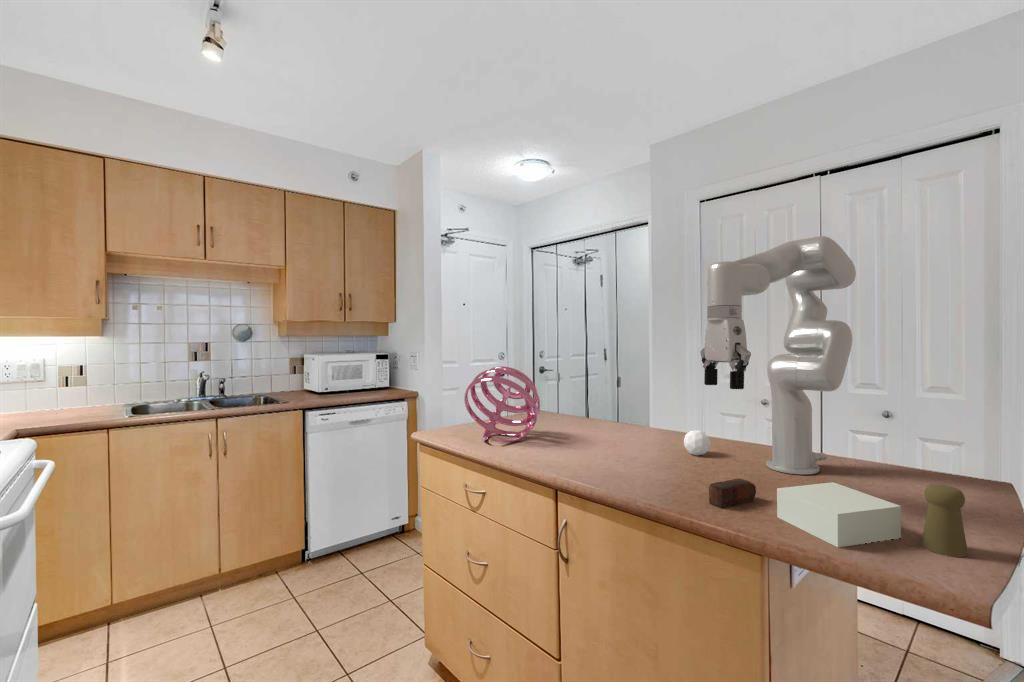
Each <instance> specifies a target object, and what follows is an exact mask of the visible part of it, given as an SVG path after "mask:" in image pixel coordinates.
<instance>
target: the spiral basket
mask: <svg viewBox="0 0 1024 682" xmlns="http://www.w3.org/2000/svg"><path fill="white" fill-rule="evenodd" d="M493 373H494V375H493V376H492V375H490V374H493ZM503 374H505V375H508V376H511V377H513V378H516V379H518V380H519V381H520V382H522V383H523V384H525V385H524V386H525V387H523V386H521V385H519V384H518V383H517V382H515V381H512V380H510V379H508V378H505V377H502V375H503ZM489 382H490V383H493V385H494V387H495V389H496V391H498V392H499V393H500V395H502V398H501V400H498V399H497V398H496V397H495V396H494V395H493V394H492V392H491V391H490V390H489V387H488V383H489ZM477 384H480V389H481V392H482V393H483V396H484V397H485V398H486V400H488V402H490V403H491V404H492V405H493V406H494V407H495V410H494V411H493V412H492V411H491V410H489V409H488V408H487V407H486V406H485V405H484V404H483V403H482V401H481V400H480V399H479V397H478V395H477V391H476V385H477ZM503 385H505V386H507V387H508V388H507V389H506V387H504V386H503ZM511 389H513V390H514V391H516V392H513V391H511ZM469 391H470V397H471V399H472V401H473V403H474V404H475V406H476V408H477V409H478V410H479V411H480V412H481V413H482V414H483V415H485V416H486V417H487V418H488V419H489V421H488V422H486V421H484V420H483V419H481V418H480V417H479V416H478V415H477V413H475V411H474V410H473V409H472V407H471V404H470V402H469V398H468V397H469V395H468V394H469ZM464 392H465V393H464V405H465V408H466V411H467V413H468V414H469V416H470V417H471V418H472V419H473V421H474V422H475V423H477V424H478V425H479V426H481V427H482V428H483V429H484V432H483V435H482V440H483V441H484V442H487V441H488V440H487V437H489V436H491V434H496V435H498V434H505V435H513V436H512V437H517V438H514V439H506V438H501V437H498V436H494V439H495V440H497V441H498V442H499V441H500V442H502V443H506V444H507V443H508V442H512V443H515V442H514V441H516V442H518V441H520V440H522V439H523V438H525V436H526V435H528V433H529V432H531V431H532V429H534V427H535V426H536V423H537V421H538V418H539V413H540V409H541V400H540V395H539V393H538V389H537V388H536V385H535V384H534V381H533V380H532V379H531V378H530V377H529V376H528V375H527V374H525V373H524V372H522V371H520V370H519V369H516V368H513V367H510V366H495V367H491V368H489V369H486V370H483V371H482V372H480V373H478V374H477V375H476V376H475V377H474V378H473V380H472V381H471V383H469V384H468V386H467V388H466V390H465V391H464ZM531 392H532V393H533V397H532V395H531V394H530V393H531ZM508 399H510V400H511V399H512V400H522V399H523V400H524V403H525V404H524V405H520V406H517V405H516V406H515V405H509V404H508V403H507V400H508ZM502 412H508V413H511V414H524V413H526V414H527V416H526V418H523V419H509V418H505V417H502V416H501V415H502V414H501V413H502ZM497 424H501V425H505V426H510V427H521V426H525V428H524V429H522V430H517V431H512V430H510V431H509V430H503V429H500V428H497V427H496V425H497ZM489 438H490V437H489ZM486 440H487V441H486Z"/></svg>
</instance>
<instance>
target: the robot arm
mask: <svg viewBox="0 0 1024 682" xmlns="http://www.w3.org/2000/svg"><path fill="white" fill-rule="evenodd" d="M856 275H857V271H856V266H855V264H854V262H853V261H852V259H851V258H850V257H849V255H848V254H847V253H846V252H845V250H844V249H843V248H842V247H841V246H840V245H839V244H838V243H837V242H836V241H835V240H834V239H832V238H830V237H828V236H825V235H822V236H819V235H818V236H814V237H808V238H802V239H795V240H791V241H787V242H786V241H785V242H784V243H782V244H780V245H777V246H774V247H773V248H770V249H768V250H765V251H763V252H760V253H757V254H752V255H749V256H747V257H743V258H740V259H737V260H734V261H733V260H731V261H730V260H729V261H727V260H726V261H725V260H724V261H717V262H714V263H711V264H710V265H709V266H708V268H707V280H706V287H707V299H706V301H707V302H706V303H707V305H706V306H707V307H706V309H707V310H706V321H707V323H706V328H705V334H704V335H705V336H704V347H703V348H702V349H701V350H700V352H699V353H700V356H701V362H702V364H703V365H702V367H703V369H704V376H703V377H704V379H703V381H704V385H705V386H717V385H718V368H717V366H718V364H719V363H728V364H729V365H728V366H729V367H730V368H731V370H732V371H731V370H730V372H729V388H730V389H731V390H744V389H745V372H747V368H748V366H749V363H750V358H751V356H752V352H750V350H749V349H748V346H747V344H748V343H747V332H746V326H745V322H744V319H743V297H744V296H755V295H759V294H762V293H763V292H765V291H766V290H767V289H769V286H770V284H773V283H776V282H779V281H783V280H784V281H785V285H786V288H787V291H788V295H789V297H790V300H791V303H792V310H791V315H790V318H789V321H788V324H787V327H786V329H785V333H784V336H783V347H784V349H785V350H786V351H787V352H789V353H781V354H778V355H775V356H773V357H772V358H770V360H769V361H768V364H767V376H768V382H769V387H770V392H771V393H770V394H771V441H772V443H771V447H772V449H771V450H772V453H771V454H772V455H771V456H772V458H769V459H767V460H766V463H765V464H766V465H765V466H766V467H767V468H769V469H770V470H772V471H777V472H781V473H785V474H790V475H814V474H815V475H816V474H818V473H819V472H820V466H819V465H818V464H816V463H817V462H818V461H826V460H827V454H826V453H825V452H819V453H816V452H814V451H813V406H812V403H811V400H810V399H809V397H808V396H807V395H806V393H805V391H816V392H829V393H830V392H833V391H836V390H837V389H839V387H841V385H842V382H843V379H844V376H845V374H846V373H845V372H846V369H847V365H848V362H849V357H850V355H851V350H852V346H853V333H852V329H851V327H850V326H849V325H848V323H846V322H845V321H842V320H831V319H829V320H828V319H827V317H828V316H827V315H828V308H827V306H826V304H825V303H824V301H822V299H821V298H819V296H817V295H816V293H815V292H816V291H817V292H818V291H829V290H842V289H845V288H848V287H850V286H851V285H852V284H854V281H855V280H856ZM826 319H827V320H826Z"/></svg>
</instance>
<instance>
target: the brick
mask: <svg viewBox="0 0 1024 682" xmlns="http://www.w3.org/2000/svg"><path fill="white" fill-rule="evenodd" d="M756 495H757V487H756V485H755V484H754V483H752V482H751V481H749V480H746V479H742V478H739V477H737V478H733V479H728V480H723V481H717V482H713V483H710V484H709V488H708V501H709V502H708V504H710V505H712V506H714V507H717V508H719V509H727V508H731V507H732V508H733V507H736V506H739V505H740V506H741V505H744V504H748V503H752V502H754V501H755V497H756Z"/></svg>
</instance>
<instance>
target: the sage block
mask: <svg viewBox="0 0 1024 682" xmlns="http://www.w3.org/2000/svg"><path fill="white" fill-rule="evenodd" d="M776 509H777V510H776V513H777V514H776V515H777V516H776V518H778V519H780V520H781V521H784V522H786V523H788V524H790V525H792V526H794V527H796V528H798V529H800V530H802V531H804V532H806V533H808V534H810V535H812V536H814V537H816V538H818V539H820V540H822V541H824V542H826V543H828V544H830V545H832V546H834V547H836V548H845V547H851V546H857V545H859V544H860V545H865V543H867V544H872V543H871V542H874V543H878V542H877V541H880V542H885V541H884V540H887V541H892V540H891V539H894V540H900V539H899V538H901V539H902V505H899V504H897V503H893V502H890V501H887V500H885V499H882V498H880V497H876V496H873V495H870V494H868V493H865V492H862V491H860V490H856V489H853V488H850V487H848V486H845V485H841V484H839V483H836V482H833V481H832V482H824V483H814V484H805V485H795V486H786V487H777V488H776ZM882 540H883V541H882Z"/></svg>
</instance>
